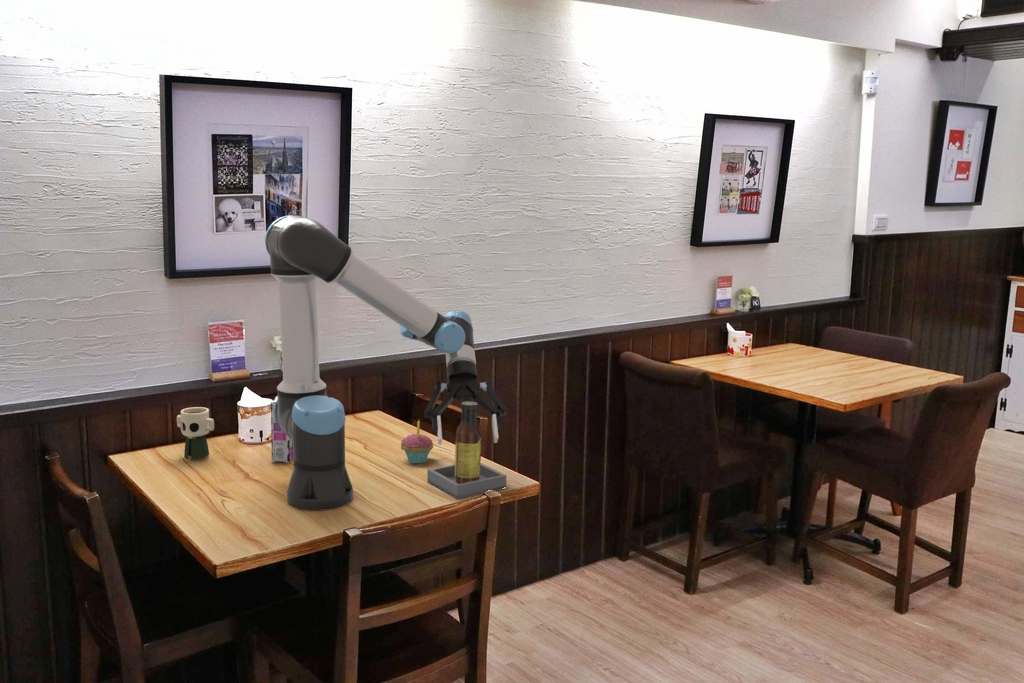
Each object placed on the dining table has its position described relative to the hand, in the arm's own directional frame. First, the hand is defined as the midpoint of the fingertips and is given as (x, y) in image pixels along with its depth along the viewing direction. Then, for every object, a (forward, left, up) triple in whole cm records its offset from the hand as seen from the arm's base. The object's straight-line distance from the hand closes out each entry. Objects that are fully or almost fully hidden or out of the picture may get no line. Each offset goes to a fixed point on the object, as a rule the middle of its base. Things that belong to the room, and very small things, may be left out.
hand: (468, 441), depth 221 cm
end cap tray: (+1, +2, -12) cm, 12 cm away
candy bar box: (-28, +46, -12) cm, 55 cm away
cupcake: (0, +25, -12) cm, 28 cm away
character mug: (-48, +57, -12) cm, 76 cm away
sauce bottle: (+1, +2, -11) cm, 11 cm away
